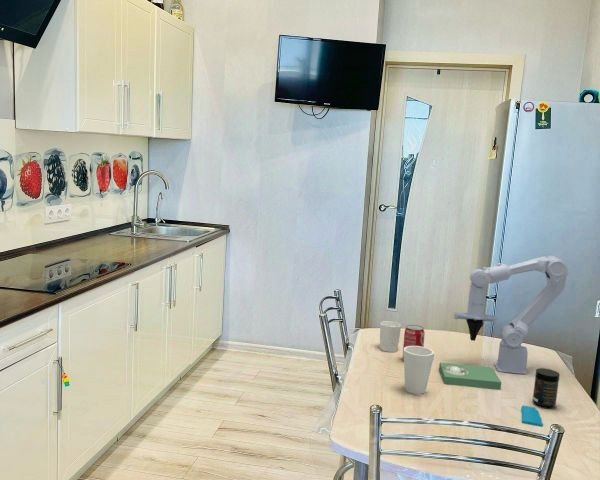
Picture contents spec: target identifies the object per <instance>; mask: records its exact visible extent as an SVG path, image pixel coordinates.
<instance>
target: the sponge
mask: <svg viewBox="0 0 600 480" xmlns="http://www.w3.org/2000/svg"><path fill="white" fill-rule="evenodd" d="M520 410H521V411H520V412H521V413H520V414H521V423H522V424H525V425H531V426H536V427H543V426H544V423H543V421H542V417H541V416H540V412H539V411H538V409H536V407H534V406H528V405H521V409H520Z"/></svg>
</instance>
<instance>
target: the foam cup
mask: <svg viewBox="0 0 600 480" xmlns="http://www.w3.org/2000/svg"><path fill="white" fill-rule="evenodd" d="M403 357H404V360H403V368H404V370H403V371H404V390H405V391H406V392H407V393H409V392H410V393H409V394H413V393H414V394H413V395H422V393H423V394H425V393H426V390H427V387H428V383H429V378H430V374H431V370H432V367H433V362H434V360H435V351H434V350H432V349H431V348H428V347H425V346H424V347H421V346H407V347H405V348H404V351H403V350H402V358H403Z"/></svg>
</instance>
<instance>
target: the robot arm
mask: <svg viewBox="0 0 600 480" xmlns="http://www.w3.org/2000/svg"><path fill="white" fill-rule="evenodd" d="M533 271H536V272H539V273H543V274H545V278H546V285H545V286H544V288H543V289H541V291H540V292H539V293H538V294H537V295H536V297H534V299H533V300H532V301H531V302H530V303H529V304H528V305H527V306H526V307H525V308H524V310H522V312H521V313H520V314H519V315H517V316H516V318H513V319H512V320H511V321H510V322H509V323H506V324H504V325H502V327H500V332H499V333H500V336H501V338H502V339H501V340H500V341H499V347H498V357H497V362H494V363H493V365H494V367H495V368H496V370H497V371H498V372H499V373H500V372H501V373H509V374H510V373H511V374H521V375H526V374H527V366H528V365H527V364H528V348H527V347H526V346H523V345H522V344H523V343H524V339H525V337H526V336H527V334H528V331H529V329H530V327H531V326H532V325H533V324H534V323H535V321H537V320H538V319H539V318H540V316H541V315H542V314H543V313H544V312H545V311H546V310H547V309H548V308H549V306H551V304H552V303H553V302H554V301H555V300H556V299H557V298H558V297H559V296H560V295H561V294H562V293H563V292H564V290H565V286H566V281H567V277H568V275H569V271H568V267H567V264H566V262H565V261H564V260H563V259H560V258H558V257H557V256H556V255H552V254H551V255H550V254H549V255H547V256H540V257H535V258H532V259H529V260H525V261H522V262H519V263H515V264H511V265H507V264H506V263H500V262H498V263H496V265H493V266H489V267H487V266H484V267H483V266H482V269H481V268H476V269H474V270H473V271H471V273H470V275H469V280H470V281H471V282H470V289H469V293H468V300H467V301H468V302H467V312H454V313H453V318H454V320H465V321H466V324H467V327H468V329H469V339H470V341H473V342H475V341H476V338H477V337H478V334H479V332H480V330H481V329H482V327H483V325H484V322H490V323H494V324H495V323H497V316H496V315H489V314H485V307H486V297H487V286H488V285H489V284H495V283H499V282H503V281H507V280H509V279H510V278H511V276H513V275H518V274H522V273H523V274H524V273H528V272H533Z"/></svg>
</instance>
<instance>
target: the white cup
mask: <svg viewBox="0 0 600 480" xmlns="http://www.w3.org/2000/svg"><path fill="white" fill-rule="evenodd" d="M379 324H380V326H379V349H380V350H381V351H384V352H387V353H393V352H394V353H395V352H397V351H398V350H399V344H400V343H399V342H400V337H401V328H402V324H401V323H399V322H396V321H391V320H390V321H389V320H383V321H380V323H379Z"/></svg>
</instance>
